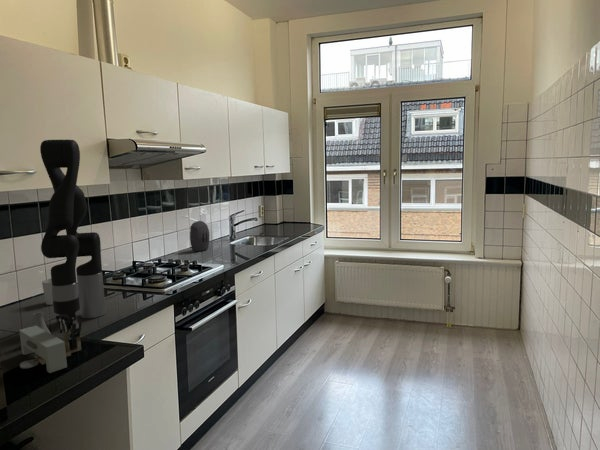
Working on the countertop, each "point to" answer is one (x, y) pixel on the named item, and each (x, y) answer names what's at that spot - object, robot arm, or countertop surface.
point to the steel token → (29, 363)
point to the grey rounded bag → (199, 236)
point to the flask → (40, 321)
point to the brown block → (67, 348)
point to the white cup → (48, 291)
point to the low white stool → (44, 347)
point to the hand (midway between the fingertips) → (71, 347)
